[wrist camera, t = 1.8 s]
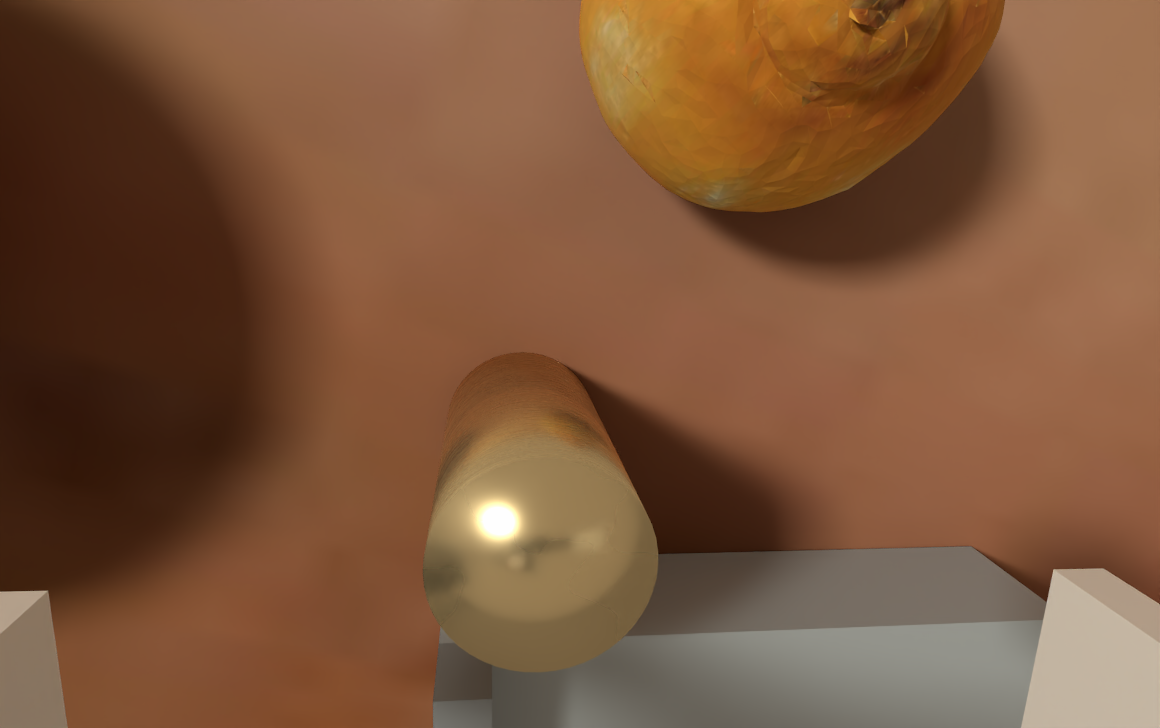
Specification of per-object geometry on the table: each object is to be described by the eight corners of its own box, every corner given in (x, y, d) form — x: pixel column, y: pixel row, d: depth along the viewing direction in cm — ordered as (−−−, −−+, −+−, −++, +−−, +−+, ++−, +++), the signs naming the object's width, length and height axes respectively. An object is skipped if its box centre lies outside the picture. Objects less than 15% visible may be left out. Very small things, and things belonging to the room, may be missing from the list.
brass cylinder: (447, 493, 21) (423, 677, 13) (446, 351, 20) (421, 458, 12) (590, 490, 21) (651, 667, 13) (596, 353, 20) (665, 456, 12)
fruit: (732, 332, 18) (1037, 176, 11) (464, 110, 17) (608, -233, 10) (852, 123, 21) (1145, -100, 14) (637, -74, 20) (839, -428, 13)
